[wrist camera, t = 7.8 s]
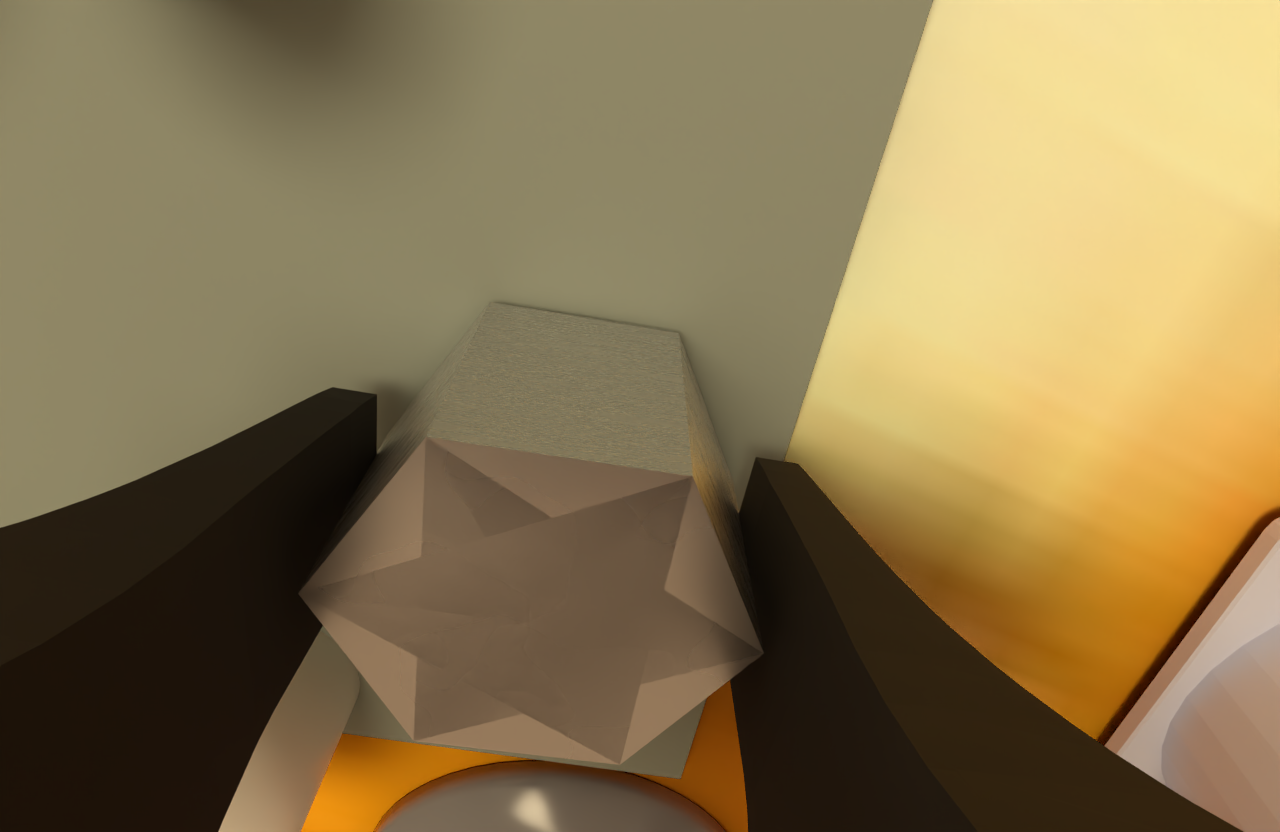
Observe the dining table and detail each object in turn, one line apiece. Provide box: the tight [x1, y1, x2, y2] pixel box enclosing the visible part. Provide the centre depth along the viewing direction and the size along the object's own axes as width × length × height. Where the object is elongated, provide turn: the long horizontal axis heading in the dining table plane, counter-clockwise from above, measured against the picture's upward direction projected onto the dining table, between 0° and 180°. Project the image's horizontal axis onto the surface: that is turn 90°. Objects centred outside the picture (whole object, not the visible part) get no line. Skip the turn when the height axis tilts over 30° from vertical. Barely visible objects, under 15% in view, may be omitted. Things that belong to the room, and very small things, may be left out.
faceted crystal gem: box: [298, 302, 764, 765], centre depth 10 cm, size 5×4×4 cm
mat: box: [0, 0, 933, 779], centre depth 11 cm, size 15×16×1 cm
